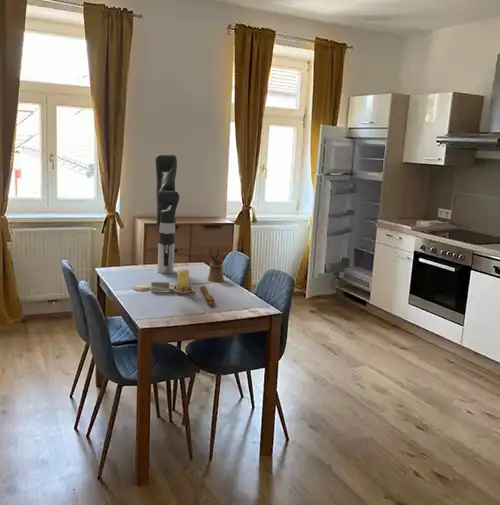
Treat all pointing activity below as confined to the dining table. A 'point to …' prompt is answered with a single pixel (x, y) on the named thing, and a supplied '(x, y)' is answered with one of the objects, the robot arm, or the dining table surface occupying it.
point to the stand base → (183, 294)
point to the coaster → (141, 288)
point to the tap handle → (207, 297)
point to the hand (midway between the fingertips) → (165, 265)
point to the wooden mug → (215, 266)
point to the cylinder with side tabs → (183, 279)
